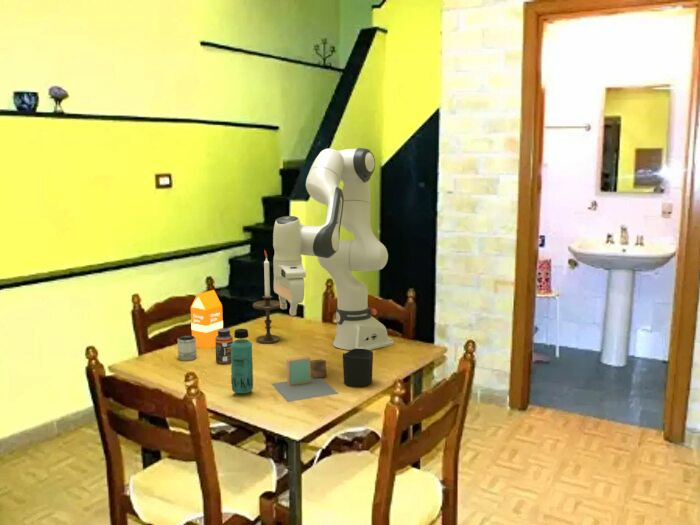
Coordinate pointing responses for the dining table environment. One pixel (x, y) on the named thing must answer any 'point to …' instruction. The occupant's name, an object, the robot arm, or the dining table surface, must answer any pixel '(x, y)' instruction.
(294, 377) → the tile
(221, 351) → the supplement bottle
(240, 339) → the beverage bottle
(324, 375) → the block
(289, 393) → the mat
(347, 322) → the robot arm
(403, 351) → the dining table surface
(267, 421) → the dining table surface
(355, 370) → the pen holder
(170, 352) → the dining table surface
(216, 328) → the orange juice
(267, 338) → the candlestick
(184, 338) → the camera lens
